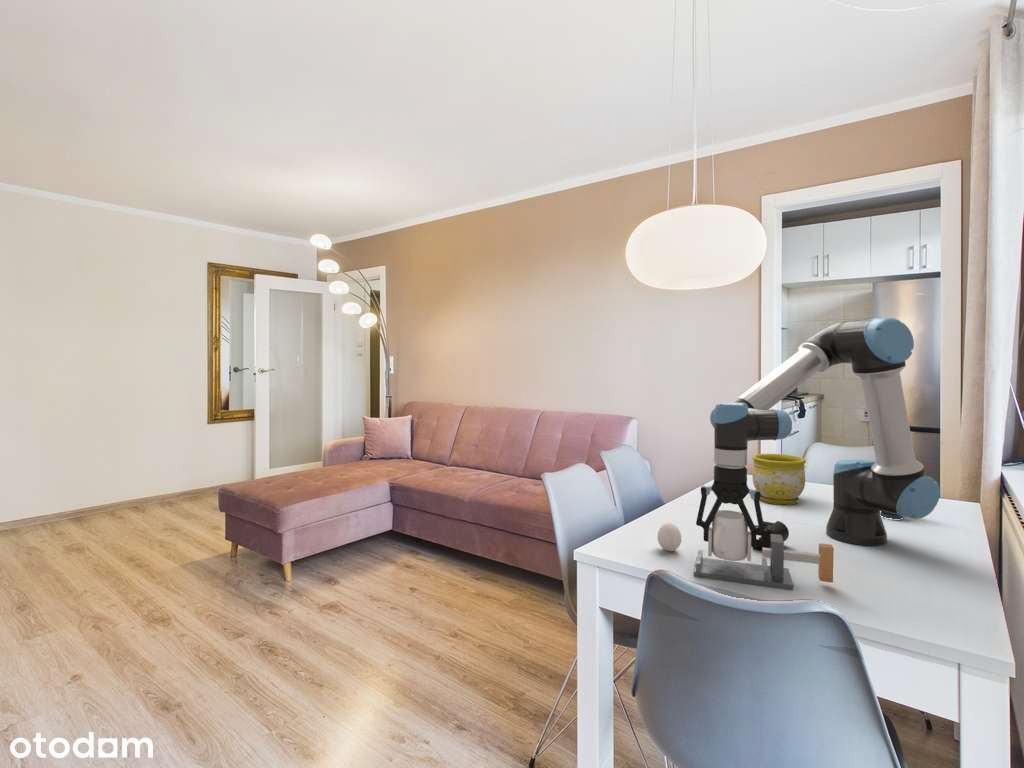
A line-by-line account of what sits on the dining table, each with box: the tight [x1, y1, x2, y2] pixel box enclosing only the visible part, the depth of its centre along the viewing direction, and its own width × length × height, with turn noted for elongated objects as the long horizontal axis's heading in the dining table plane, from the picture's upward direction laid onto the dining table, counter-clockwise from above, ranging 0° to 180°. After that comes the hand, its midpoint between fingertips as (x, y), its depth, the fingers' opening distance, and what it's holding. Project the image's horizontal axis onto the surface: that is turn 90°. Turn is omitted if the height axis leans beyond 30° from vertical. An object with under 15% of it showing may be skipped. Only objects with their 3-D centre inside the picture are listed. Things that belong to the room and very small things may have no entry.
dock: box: [693, 534, 794, 591], centre depth 130 cm, size 22×11×10 cm, turn 67°
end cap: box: [751, 520, 790, 552], centre depth 150 cm, size 10×7×7 cm
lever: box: [761, 542, 835, 583], centre depth 126 cm, size 15×3×8 cm, turn 67°
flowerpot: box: [751, 453, 807, 505], centre depth 201 cm, size 18×18×16 cm
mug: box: [711, 509, 749, 562], centre depth 132 cm, size 12×8×10 cm
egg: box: [657, 521, 682, 552], centre depth 148 cm, size 6×6×8 cm
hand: (729, 556), depth 131 cm, fingers closed on mug, 8 cm apart
